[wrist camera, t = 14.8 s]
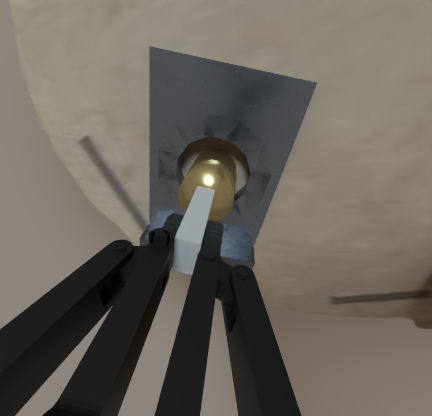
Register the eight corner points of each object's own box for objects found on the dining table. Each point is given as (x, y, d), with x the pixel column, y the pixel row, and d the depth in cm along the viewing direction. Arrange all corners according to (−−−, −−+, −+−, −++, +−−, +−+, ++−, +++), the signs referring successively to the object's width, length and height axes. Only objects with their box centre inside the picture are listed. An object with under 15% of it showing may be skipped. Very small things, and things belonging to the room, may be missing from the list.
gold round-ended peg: (196, 143, 22) (180, 166, 16) (241, 153, 22) (240, 179, 16) (191, 183, 25) (175, 215, 19) (231, 192, 25) (227, 226, 19)
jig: (158, 49, 18) (132, 39, 14) (310, 82, 18) (330, 82, 14) (155, 223, 29) (140, 247, 25) (249, 243, 29) (251, 271, 25)
